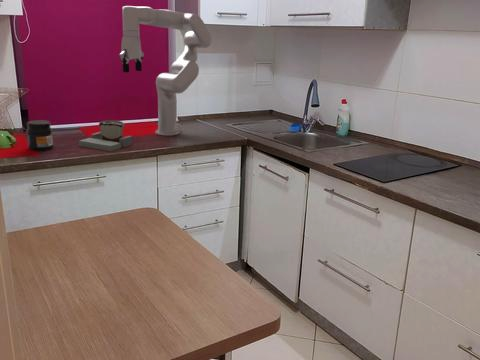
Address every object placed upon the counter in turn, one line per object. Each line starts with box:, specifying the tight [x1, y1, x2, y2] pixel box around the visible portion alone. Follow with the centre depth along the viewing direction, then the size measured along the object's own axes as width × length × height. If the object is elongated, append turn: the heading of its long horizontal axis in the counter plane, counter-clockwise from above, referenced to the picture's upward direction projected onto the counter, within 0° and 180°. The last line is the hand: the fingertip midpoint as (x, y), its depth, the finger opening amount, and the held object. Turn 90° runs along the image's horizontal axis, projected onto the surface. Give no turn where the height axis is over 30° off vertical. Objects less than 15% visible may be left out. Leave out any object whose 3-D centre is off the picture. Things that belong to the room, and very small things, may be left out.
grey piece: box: [78, 131, 133, 152], centre depth 224 cm, size 16×18×4 cm
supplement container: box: [26, 119, 54, 152], centre depth 213 cm, size 10×10×12 cm
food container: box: [98, 120, 125, 143], centre depth 228 cm, size 12×6×10 cm, turn 82°
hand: (132, 71), depth 227 cm, fingers open, 9 cm apart
